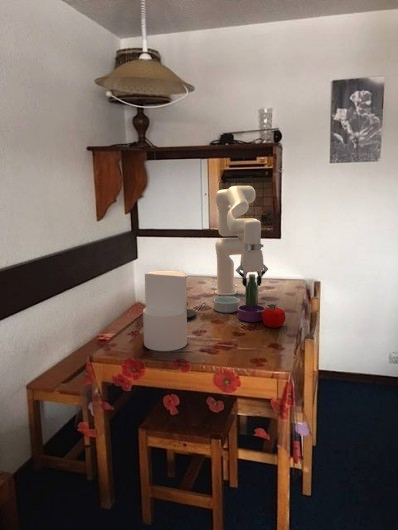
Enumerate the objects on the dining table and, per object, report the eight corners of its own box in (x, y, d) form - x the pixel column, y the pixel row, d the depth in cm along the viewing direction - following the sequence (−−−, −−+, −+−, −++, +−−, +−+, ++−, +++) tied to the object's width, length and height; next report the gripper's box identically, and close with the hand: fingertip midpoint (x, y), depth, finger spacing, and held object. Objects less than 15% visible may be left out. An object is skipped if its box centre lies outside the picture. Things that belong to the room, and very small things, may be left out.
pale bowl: (224, 304, 238) (224, 295, 237) (244, 309, 230) (245, 299, 229) (208, 309, 229) (208, 300, 228) (228, 314, 220) (228, 304, 219)
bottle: (250, 301, 217) (250, 272, 214) (260, 303, 213) (261, 274, 210) (242, 304, 213) (242, 274, 210) (253, 306, 209) (253, 276, 206)
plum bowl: (248, 312, 223) (248, 302, 222) (270, 317, 215) (271, 307, 214) (231, 318, 214) (232, 308, 213) (254, 324, 205) (254, 313, 204)
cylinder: (156, 333, 194) (154, 269, 189) (193, 338, 188) (193, 272, 183) (136, 347, 179) (133, 277, 173) (175, 353, 172) (174, 281, 167)
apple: (280, 321, 210) (280, 300, 208) (289, 328, 200) (290, 306, 198) (258, 322, 208) (258, 301, 206) (266, 330, 197) (266, 307, 195)
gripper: (267, 245, 213) (266, 282, 217) (231, 247, 210) (231, 285, 213) (273, 247, 206) (272, 286, 209) (236, 249, 202) (236, 288, 206)
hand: (251, 285), depth 211 cm, fingers closed on bottle, 6 cm apart
